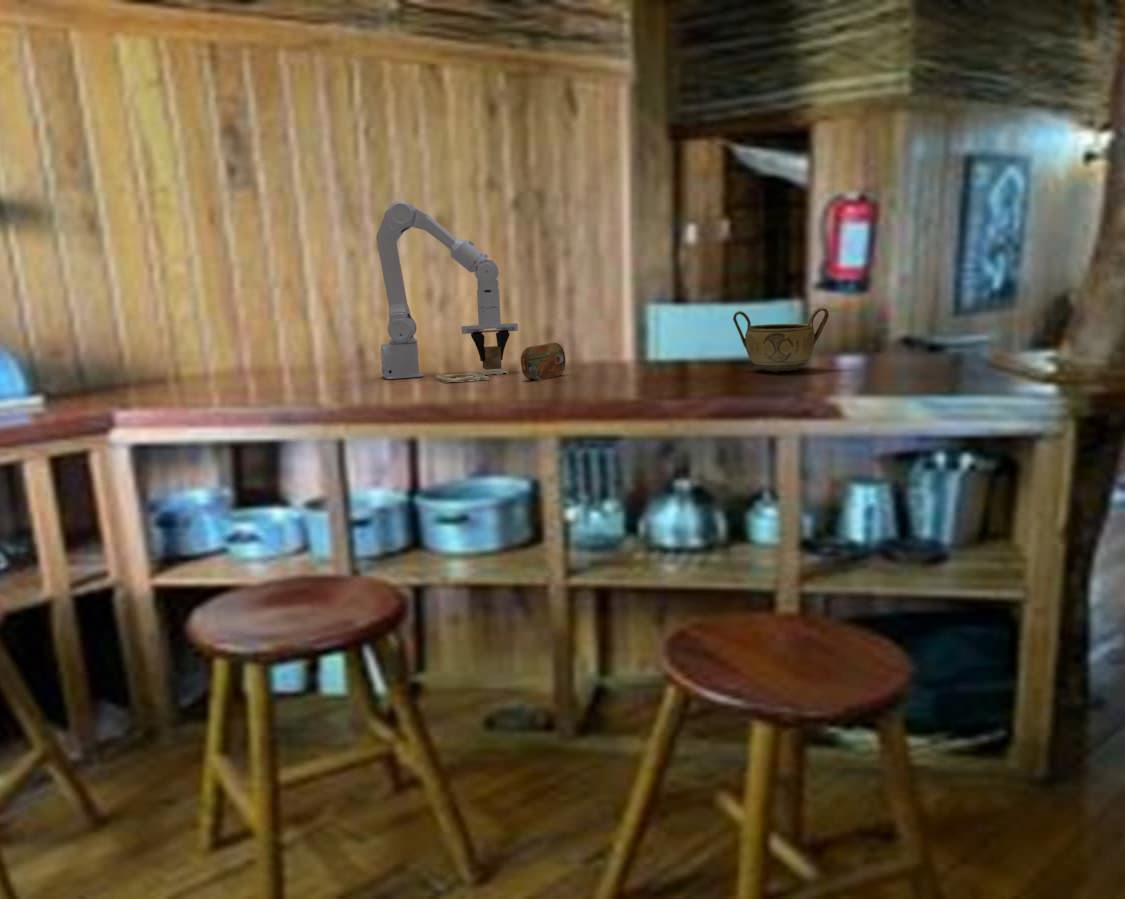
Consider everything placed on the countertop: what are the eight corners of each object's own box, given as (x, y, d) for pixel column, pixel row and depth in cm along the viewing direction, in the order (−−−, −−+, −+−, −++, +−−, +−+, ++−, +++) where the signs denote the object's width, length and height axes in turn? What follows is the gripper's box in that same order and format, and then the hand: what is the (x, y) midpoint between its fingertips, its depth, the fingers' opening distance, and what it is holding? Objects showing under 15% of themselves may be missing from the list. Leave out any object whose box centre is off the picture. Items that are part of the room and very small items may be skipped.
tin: (529, 382, 235) (527, 346, 234) (519, 381, 237) (517, 346, 235) (567, 375, 247) (566, 341, 245) (557, 374, 249) (556, 341, 247)
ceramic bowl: (825, 366, 244) (825, 305, 241) (830, 374, 228) (831, 309, 225) (733, 368, 248) (733, 308, 245) (732, 376, 232) (732, 311, 229)
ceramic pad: (482, 375, 251) (482, 373, 251) (475, 373, 258) (475, 371, 258) (508, 373, 253) (508, 371, 253) (501, 371, 260) (501, 369, 260)
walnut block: (486, 369, 253) (485, 348, 252) (482, 368, 256) (481, 347, 255) (501, 368, 254) (500, 347, 253) (497, 367, 258) (496, 346, 256)
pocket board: (445, 383, 237) (445, 380, 237) (435, 378, 249) (435, 375, 248) (489, 380, 241) (489, 377, 241) (477, 375, 252) (477, 372, 252)
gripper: (464, 309, 247) (467, 363, 249) (520, 306, 251) (522, 359, 254) (458, 308, 253) (461, 361, 256) (512, 305, 258) (515, 357, 260)
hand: (491, 360), depth 255 cm, fingers closed on walnut block, 4 cm apart
